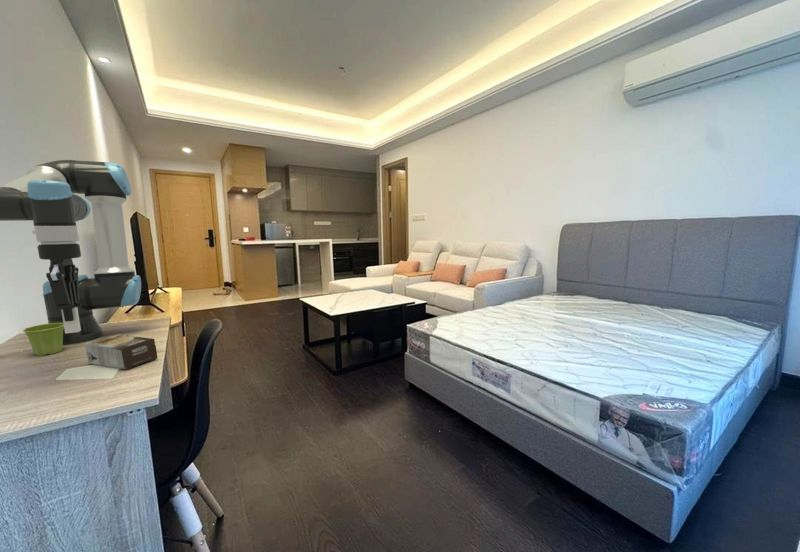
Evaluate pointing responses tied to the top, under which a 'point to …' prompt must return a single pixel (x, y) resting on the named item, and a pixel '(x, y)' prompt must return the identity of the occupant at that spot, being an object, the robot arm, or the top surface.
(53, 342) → the plant pot
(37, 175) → the robot arm
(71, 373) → the cream flat rectangular sheet
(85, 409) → the top surface
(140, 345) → the coffee box
